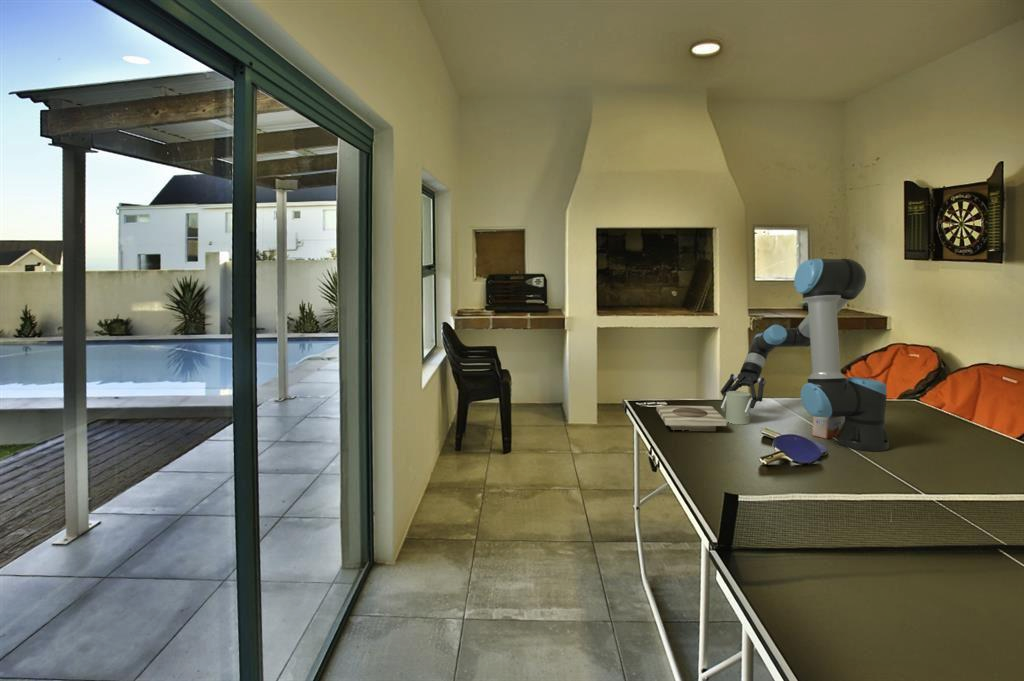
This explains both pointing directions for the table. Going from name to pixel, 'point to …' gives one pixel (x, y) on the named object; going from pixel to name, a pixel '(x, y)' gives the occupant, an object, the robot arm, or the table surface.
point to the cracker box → (827, 426)
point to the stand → (691, 417)
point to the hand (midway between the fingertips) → (734, 411)
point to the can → (737, 407)
